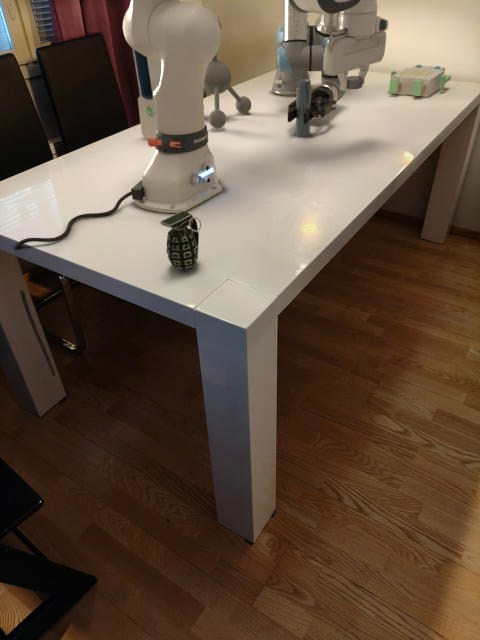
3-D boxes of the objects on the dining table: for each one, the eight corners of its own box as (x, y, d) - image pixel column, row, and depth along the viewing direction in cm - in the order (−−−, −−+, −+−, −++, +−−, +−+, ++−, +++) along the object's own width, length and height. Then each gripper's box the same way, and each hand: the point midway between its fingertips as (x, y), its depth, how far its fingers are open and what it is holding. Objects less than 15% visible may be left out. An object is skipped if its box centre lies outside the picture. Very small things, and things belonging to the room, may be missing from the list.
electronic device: (141, 137, 154) (123, 28, 136) (159, 131, 158) (144, 24, 140) (166, 145, 147) (151, 30, 129) (185, 138, 151) (172, 26, 133)
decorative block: (405, 62, 193) (457, 66, 183) (403, 80, 197) (453, 84, 187) (379, 75, 177) (434, 80, 167) (377, 94, 181) (431, 100, 171)
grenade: (182, 278, 88) (175, 228, 82) (162, 268, 91) (153, 219, 85) (208, 263, 92) (203, 214, 85) (187, 253, 95) (181, 205, 89)
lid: (363, 84, 128) (364, 75, 126) (361, 89, 124) (361, 80, 122) (343, 84, 129) (344, 75, 128) (340, 89, 125) (341, 80, 124)
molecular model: (271, 118, 163) (270, 14, 145) (215, 133, 154) (207, 23, 136) (232, 105, 179) (227, 9, 161) (180, 117, 170) (168, 17, 151)
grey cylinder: (312, 134, 149) (314, 79, 139) (303, 138, 147) (305, 82, 137) (301, 131, 151) (303, 77, 142) (292, 135, 149) (293, 80, 140)
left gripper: (339, 33, 111) (335, 98, 119) (392, 20, 121) (385, 81, 129) (318, 31, 115) (316, 94, 123) (371, 19, 125) (366, 77, 133)
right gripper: (347, 112, 157) (324, 134, 140) (297, 108, 163) (269, 128, 147) (350, 87, 152) (326, 106, 136) (297, 84, 159) (269, 102, 142)
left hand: (352, 87), depth 126 cm, fingers closed on lid, 5 cm apart
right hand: (296, 118), depth 141 cm, fingers closed on grey cylinder, 4 cm apart
